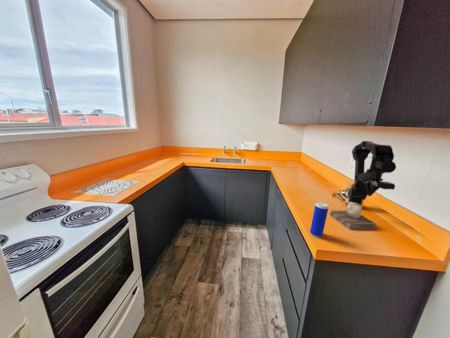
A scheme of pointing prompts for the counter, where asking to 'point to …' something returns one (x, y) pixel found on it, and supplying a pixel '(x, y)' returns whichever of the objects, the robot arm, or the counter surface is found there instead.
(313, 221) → the beverage can
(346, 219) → the socket board
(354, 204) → the beech leg
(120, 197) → the counter surface
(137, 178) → the counter surface
